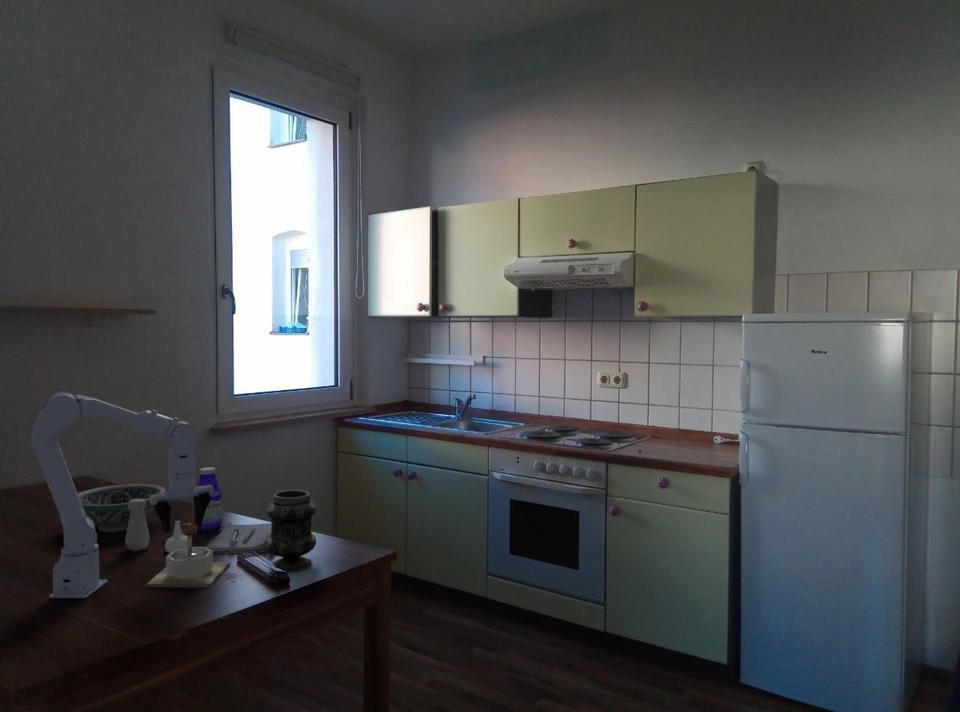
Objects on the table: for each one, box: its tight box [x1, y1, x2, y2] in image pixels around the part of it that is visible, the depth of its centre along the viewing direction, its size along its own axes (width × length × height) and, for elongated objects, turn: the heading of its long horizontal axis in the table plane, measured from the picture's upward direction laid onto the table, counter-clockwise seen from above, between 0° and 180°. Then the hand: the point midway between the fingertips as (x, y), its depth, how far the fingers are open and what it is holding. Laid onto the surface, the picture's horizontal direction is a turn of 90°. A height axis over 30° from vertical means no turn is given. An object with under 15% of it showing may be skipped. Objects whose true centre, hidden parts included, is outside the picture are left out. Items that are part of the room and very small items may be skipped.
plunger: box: [175, 521, 204, 559], centre depth 163 cm, size 6×6×8 cm
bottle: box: [196, 466, 223, 532], centre depth 199 cm, size 7×6×17 cm
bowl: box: [77, 483, 167, 533], centre depth 200 cm, size 25×25×10 cm
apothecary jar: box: [265, 489, 317, 573], centre depth 170 cm, size 12×12×18 cm
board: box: [146, 561, 231, 588], centre depth 163 cm, size 14×14×1 cm
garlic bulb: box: [164, 520, 187, 554], centre depth 181 cm, size 6×6×8 cm
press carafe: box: [165, 546, 214, 580], centre depth 163 cm, size 9×9×4 cm
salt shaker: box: [124, 499, 151, 552], centre depth 181 cm, size 6×6×13 cm
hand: (182, 528), depth 165 cm, fingers open, 7 cm apart
